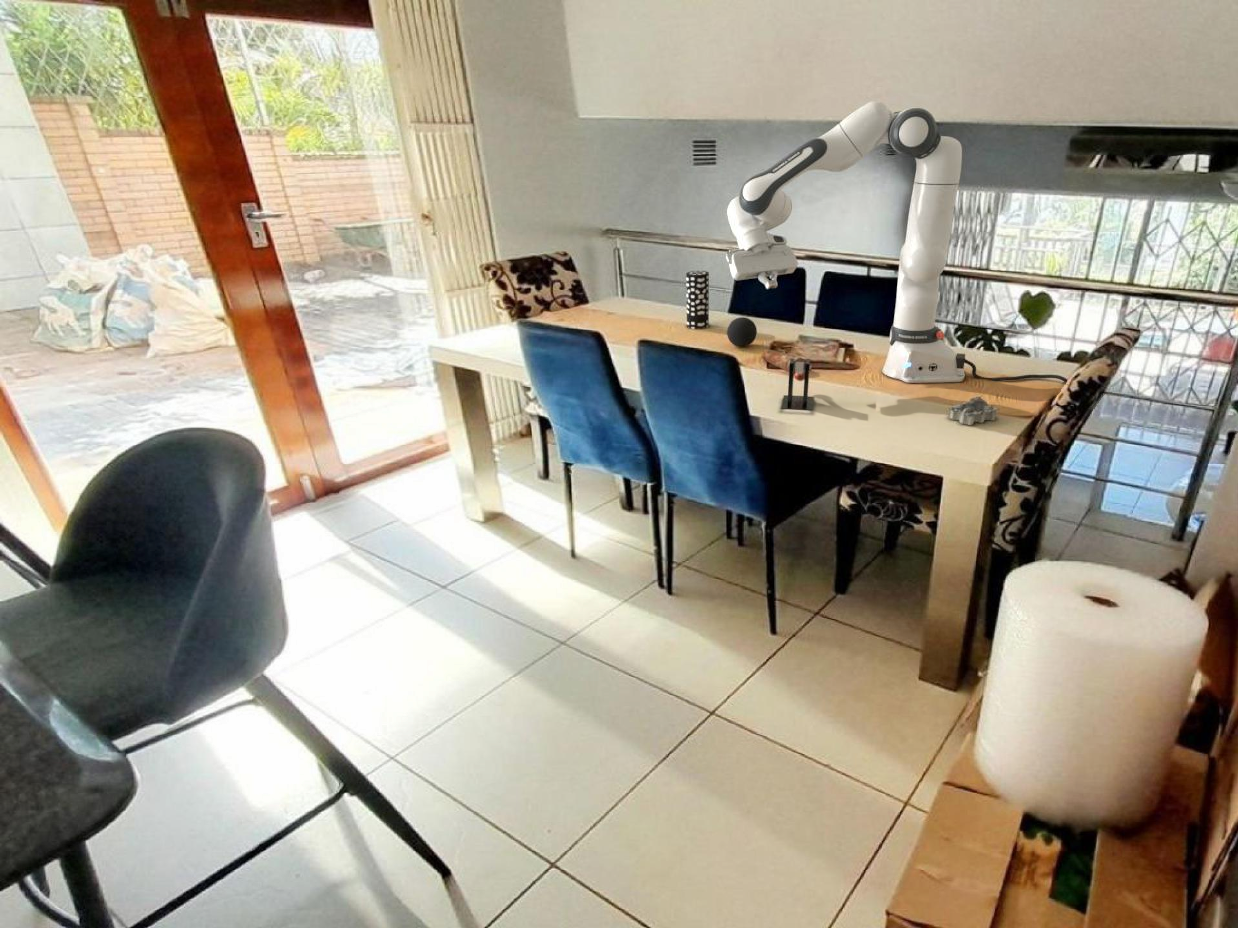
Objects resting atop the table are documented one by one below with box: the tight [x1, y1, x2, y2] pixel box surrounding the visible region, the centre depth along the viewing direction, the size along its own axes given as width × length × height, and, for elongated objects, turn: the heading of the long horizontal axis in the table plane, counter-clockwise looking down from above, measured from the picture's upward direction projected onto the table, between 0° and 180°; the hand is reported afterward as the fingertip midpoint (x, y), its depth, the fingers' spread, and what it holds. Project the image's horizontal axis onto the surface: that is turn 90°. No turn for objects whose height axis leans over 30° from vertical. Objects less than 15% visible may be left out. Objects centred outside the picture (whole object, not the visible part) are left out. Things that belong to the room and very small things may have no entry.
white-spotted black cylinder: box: [685, 270, 710, 330], centre depth 265 cm, size 8×8×20 cm
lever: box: [794, 362, 805, 382], centre depth 190 cm, size 13×3×3 cm, turn 165°
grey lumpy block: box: [947, 395, 1001, 426], centre depth 176 cm, size 11×8×4 cm
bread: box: [761, 349, 806, 375], centre depth 218 cm, size 6×19×6 cm, turn 20°
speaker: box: [726, 316, 758, 348], centre depth 240 cm, size 10×10×10 cm
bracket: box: [780, 358, 815, 412], centre depth 187 cm, size 10×8×13 cm
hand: (772, 287), depth 199 cm, fingers closed
